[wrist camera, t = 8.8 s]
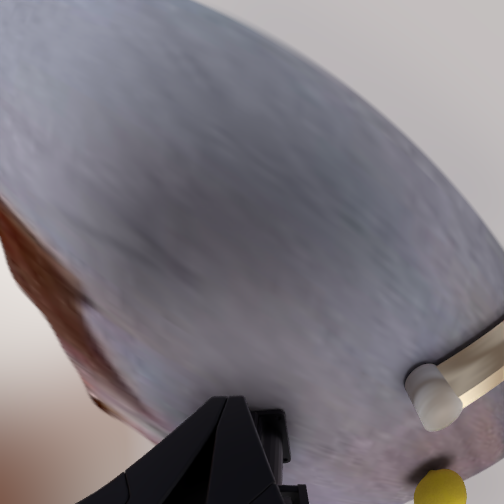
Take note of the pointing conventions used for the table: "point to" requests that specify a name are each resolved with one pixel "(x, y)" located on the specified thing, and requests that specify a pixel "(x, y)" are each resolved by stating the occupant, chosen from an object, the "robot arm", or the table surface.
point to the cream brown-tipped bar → (457, 380)
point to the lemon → (440, 488)
